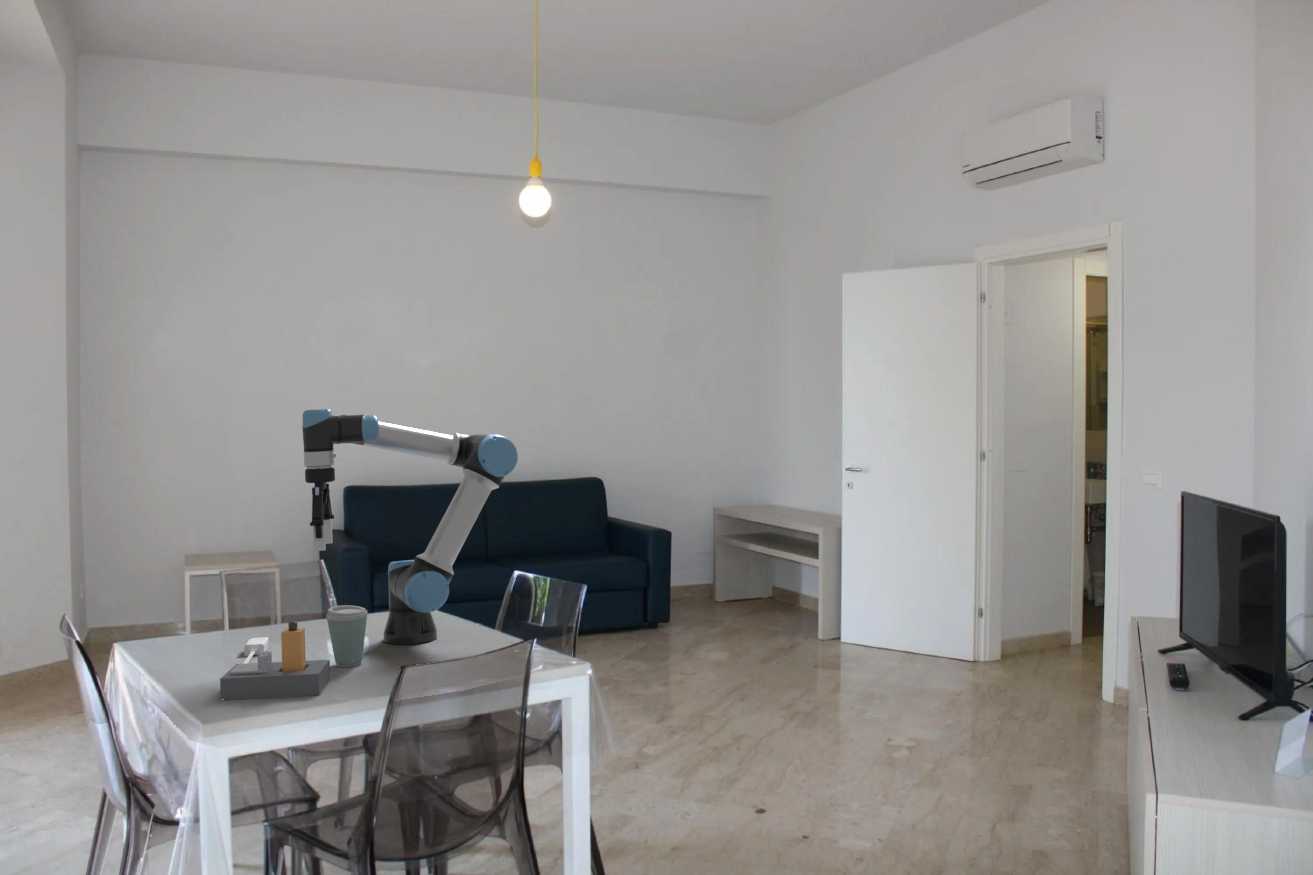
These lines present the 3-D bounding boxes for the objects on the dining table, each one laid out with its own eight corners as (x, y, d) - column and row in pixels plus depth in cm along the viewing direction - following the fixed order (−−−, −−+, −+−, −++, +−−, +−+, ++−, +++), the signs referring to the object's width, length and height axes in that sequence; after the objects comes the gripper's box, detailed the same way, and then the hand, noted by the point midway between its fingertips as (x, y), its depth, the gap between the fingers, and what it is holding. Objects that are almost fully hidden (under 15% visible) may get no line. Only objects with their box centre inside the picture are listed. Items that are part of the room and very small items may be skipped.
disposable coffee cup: (375, 659, 275) (373, 603, 275) (361, 669, 264) (359, 611, 264) (336, 659, 276) (334, 603, 275) (320, 669, 265) (319, 611, 265)
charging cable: (229, 679, 261) (228, 666, 261) (251, 646, 293) (251, 634, 293) (250, 678, 262) (249, 665, 262) (270, 645, 294) (270, 633, 294)
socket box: (330, 679, 255) (329, 659, 255) (319, 694, 241) (318, 673, 241) (237, 684, 252) (236, 663, 252) (220, 700, 238) (220, 678, 238)
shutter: (273, 664, 250) (272, 649, 250) (265, 672, 242) (264, 657, 242) (238, 666, 249) (238, 651, 249) (229, 674, 241) (229, 659, 241)
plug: (286, 678, 249) (285, 620, 249) (306, 677, 250) (304, 619, 249) (282, 682, 245) (280, 624, 244) (302, 681, 245) (300, 623, 245)
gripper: (327, 469, 262) (332, 552, 263) (340, 463, 287) (344, 539, 288) (297, 471, 261) (301, 554, 262) (312, 465, 285) (316, 541, 286)
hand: (323, 547), depth 275 cm, fingers open, 13 cm apart
